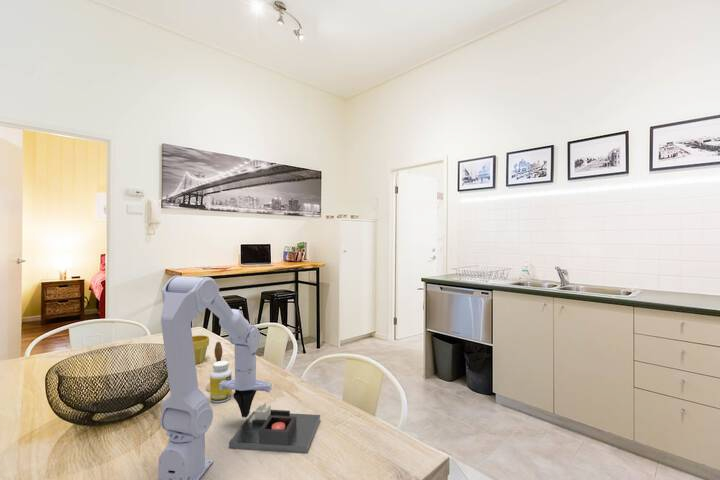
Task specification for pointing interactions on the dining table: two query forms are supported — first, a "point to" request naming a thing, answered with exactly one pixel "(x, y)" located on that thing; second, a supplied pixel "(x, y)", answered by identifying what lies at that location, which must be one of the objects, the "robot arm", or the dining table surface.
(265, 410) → the sliding toggle
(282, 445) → the panel
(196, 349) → the plant pot
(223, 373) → the pill bottle
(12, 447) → the dining table surface
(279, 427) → the button
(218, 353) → the hand bell
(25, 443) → the dining table surface
